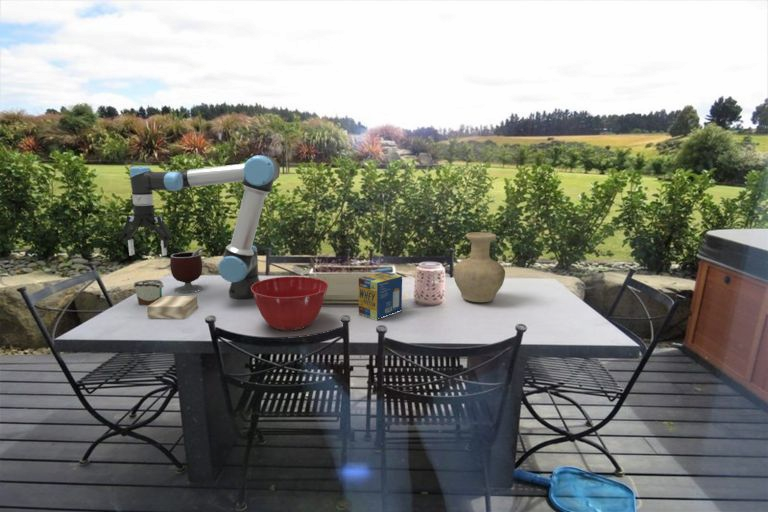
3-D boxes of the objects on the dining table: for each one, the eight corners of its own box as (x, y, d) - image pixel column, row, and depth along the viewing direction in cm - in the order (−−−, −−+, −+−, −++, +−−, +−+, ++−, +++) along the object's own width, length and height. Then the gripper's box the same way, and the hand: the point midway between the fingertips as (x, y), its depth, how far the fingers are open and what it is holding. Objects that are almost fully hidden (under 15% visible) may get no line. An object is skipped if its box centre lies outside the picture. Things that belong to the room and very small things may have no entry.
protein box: (358, 314, 183) (357, 277, 180) (383, 306, 194) (384, 271, 191) (376, 321, 176) (376, 282, 173) (402, 311, 188) (403, 275, 184)
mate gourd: (178, 295, 207) (174, 252, 203) (168, 289, 217) (164, 248, 213) (212, 289, 217) (209, 248, 213) (200, 283, 227) (197, 244, 223)
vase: (508, 308, 193) (513, 239, 186) (456, 307, 193) (459, 238, 187) (497, 293, 215) (500, 230, 208) (449, 292, 215) (452, 230, 209)
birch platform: (198, 307, 191) (197, 296, 190) (184, 318, 177) (183, 306, 176) (164, 307, 191) (163, 295, 190) (148, 318, 177) (146, 306, 176)
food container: (171, 302, 198) (168, 279, 196) (162, 306, 192) (160, 283, 190) (144, 300, 199) (142, 279, 197) (135, 305, 193) (133, 282, 191)
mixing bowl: (332, 312, 186) (332, 275, 183) (323, 339, 158) (322, 296, 155) (264, 311, 186) (262, 275, 183) (243, 338, 158) (240, 296, 155)
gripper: (107, 205, 183) (113, 256, 187) (169, 205, 183) (174, 257, 187) (117, 203, 190) (123, 252, 194) (177, 204, 190) (181, 253, 195)
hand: (148, 255), depth 191 cm, fingers open, 13 cm apart
